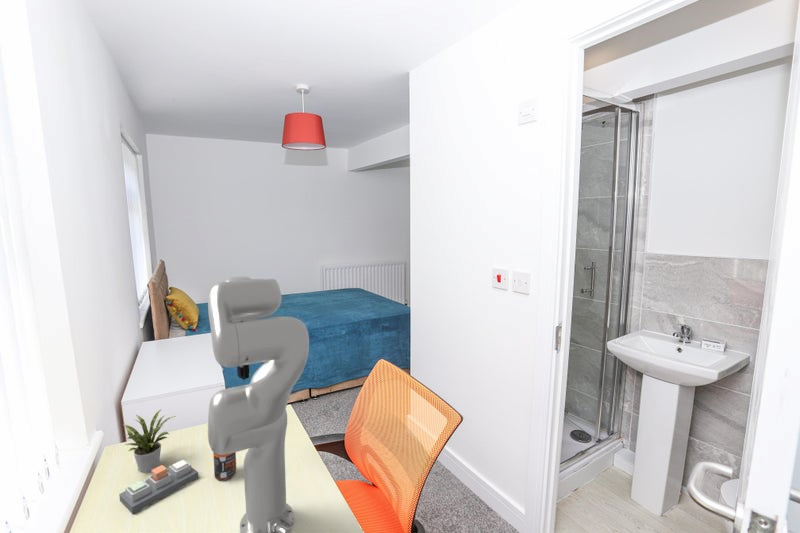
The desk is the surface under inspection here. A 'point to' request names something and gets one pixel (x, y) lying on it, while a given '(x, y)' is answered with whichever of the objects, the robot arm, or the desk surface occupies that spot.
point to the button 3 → (179, 465)
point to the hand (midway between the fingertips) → (243, 377)
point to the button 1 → (137, 486)
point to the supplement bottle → (224, 466)
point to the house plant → (147, 444)
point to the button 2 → (159, 473)
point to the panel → (158, 488)
